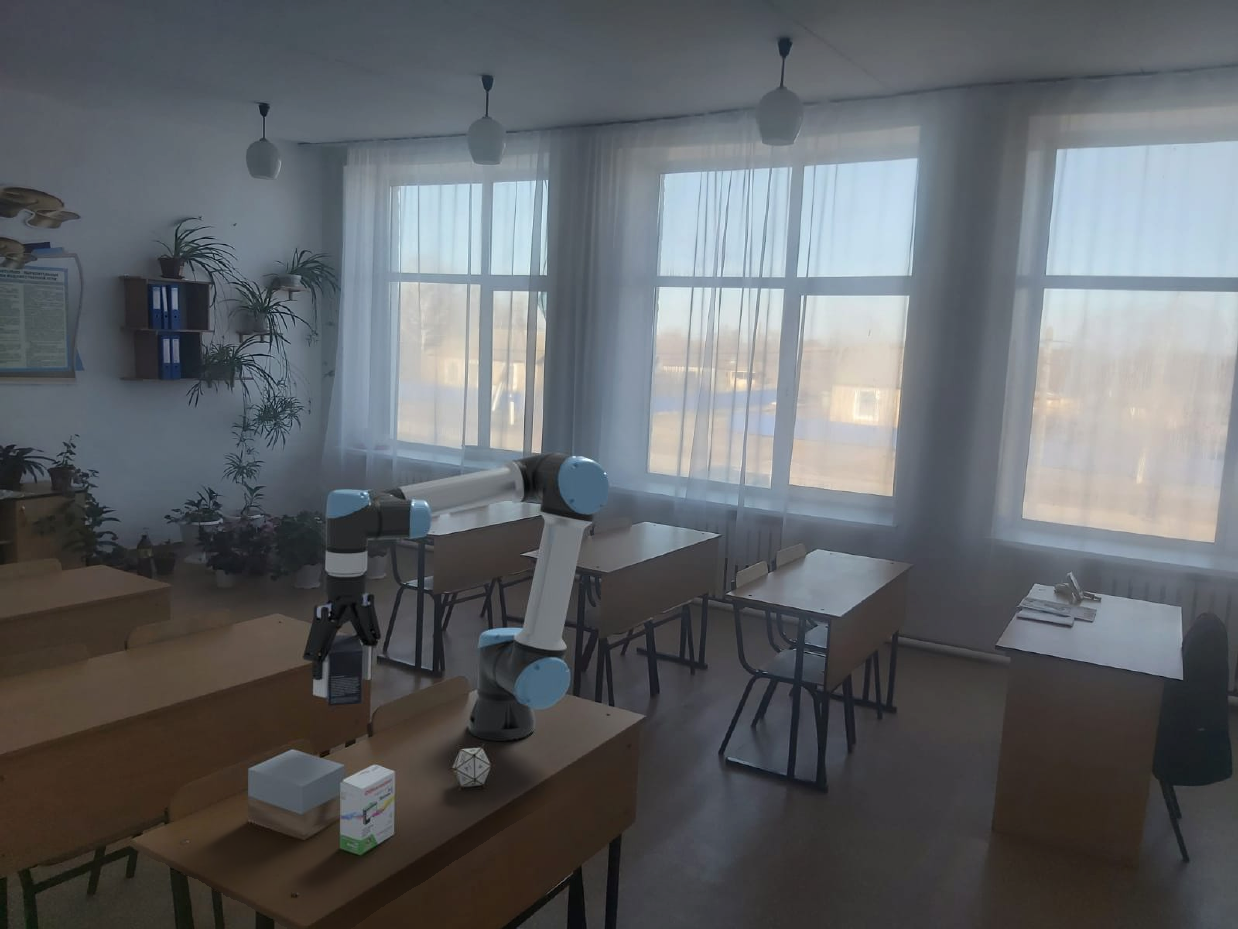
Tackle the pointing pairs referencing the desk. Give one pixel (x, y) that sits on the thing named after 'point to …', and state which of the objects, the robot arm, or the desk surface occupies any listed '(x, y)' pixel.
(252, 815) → the walnut slab
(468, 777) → the game die
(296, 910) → the desk surface
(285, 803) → the grey slab
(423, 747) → the desk surface
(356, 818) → the ink box
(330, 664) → the small box
